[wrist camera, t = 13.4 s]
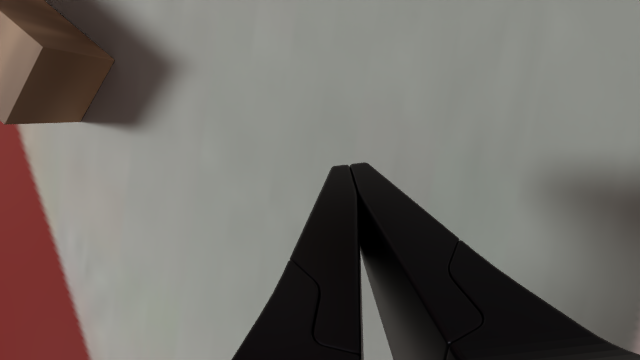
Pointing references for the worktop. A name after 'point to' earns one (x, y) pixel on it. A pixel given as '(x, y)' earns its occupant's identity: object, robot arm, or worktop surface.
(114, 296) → the worktop surface
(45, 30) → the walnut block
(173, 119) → the worktop surface
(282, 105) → the worktop surface
